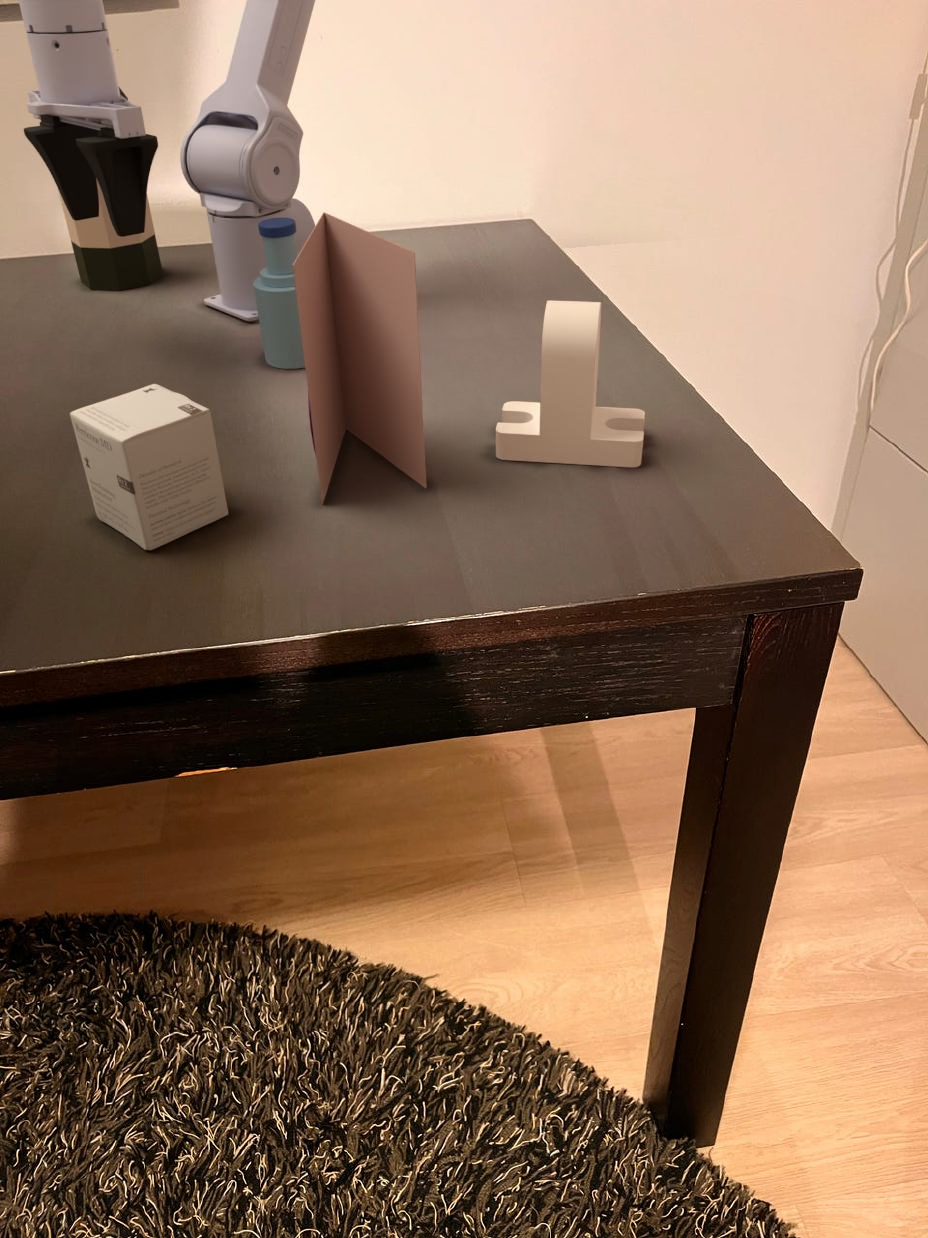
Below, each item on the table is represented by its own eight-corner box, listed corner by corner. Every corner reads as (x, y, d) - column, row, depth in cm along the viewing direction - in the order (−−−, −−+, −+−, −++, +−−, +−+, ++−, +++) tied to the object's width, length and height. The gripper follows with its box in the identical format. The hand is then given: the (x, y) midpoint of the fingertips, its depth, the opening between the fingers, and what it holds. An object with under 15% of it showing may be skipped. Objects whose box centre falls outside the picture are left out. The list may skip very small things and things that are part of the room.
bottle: (302, 340, 86) (284, 209, 79) (339, 355, 83) (323, 220, 76) (253, 358, 83) (229, 223, 77) (289, 374, 80) (268, 235, 73)
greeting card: (333, 427, 72) (310, 212, 63) (434, 426, 71) (425, 210, 62) (308, 504, 62) (277, 264, 54) (424, 504, 62) (412, 263, 53)
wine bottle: (180, 273, 103) (113, -74, 86) (118, 295, 98) (34, -71, 80) (125, 262, 107) (51, -73, 89) (64, 283, 101) (-29, -70, 84)
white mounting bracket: (505, 426, 71) (505, 287, 65) (642, 433, 70) (655, 292, 64) (494, 459, 67) (493, 314, 61) (640, 467, 65) (654, 320, 59)
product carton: (95, 520, 61) (64, 411, 57) (178, 485, 65) (154, 379, 61) (149, 554, 58) (120, 440, 54) (232, 515, 61) (212, 405, 57)
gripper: (-28, 29, 73) (21, 219, 81) (60, 39, 65) (105, 251, 73) (62, 23, 77) (100, 205, 85) (155, 33, 69) (188, 234, 77)
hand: (107, 225), depth 79 cm, fingers open, 7 cm apart
